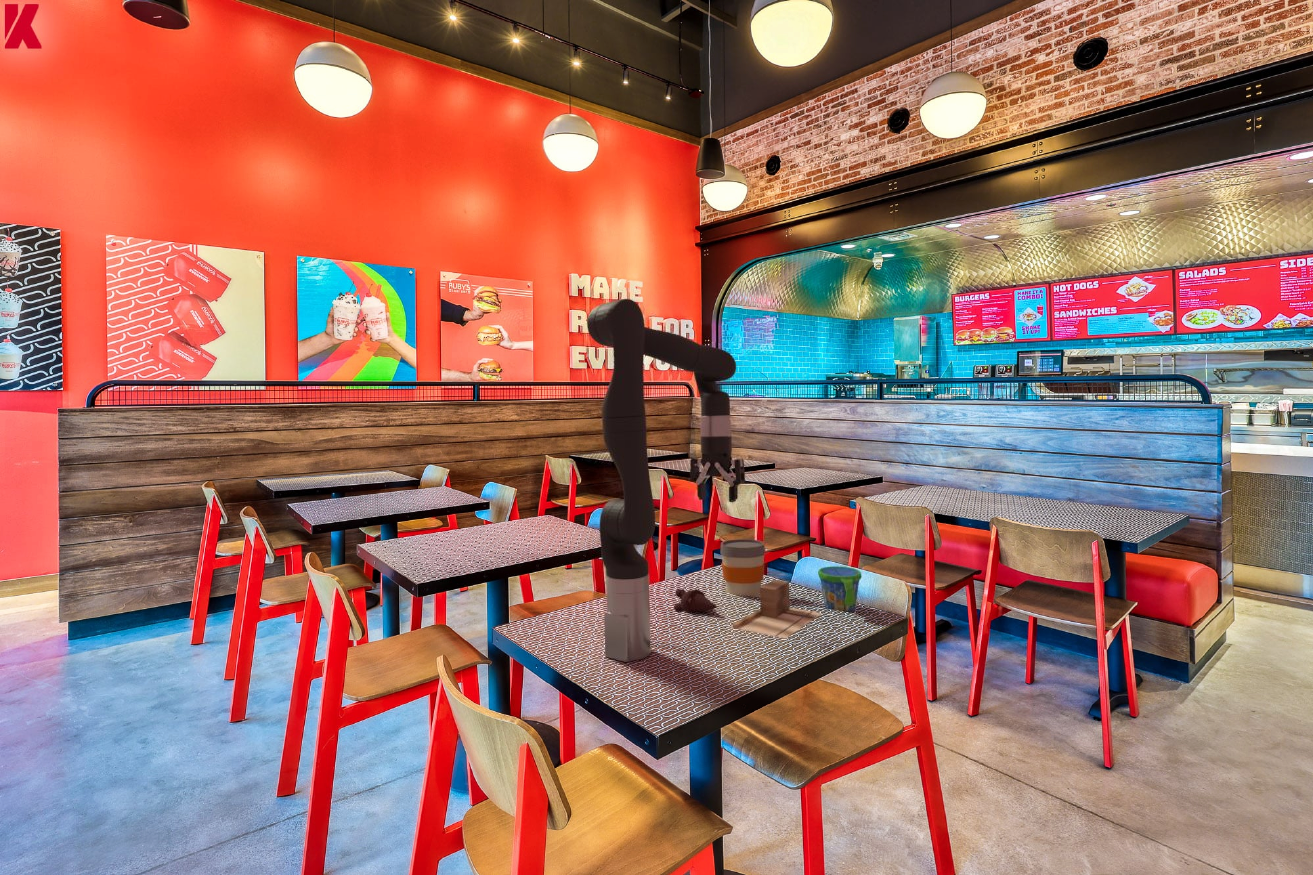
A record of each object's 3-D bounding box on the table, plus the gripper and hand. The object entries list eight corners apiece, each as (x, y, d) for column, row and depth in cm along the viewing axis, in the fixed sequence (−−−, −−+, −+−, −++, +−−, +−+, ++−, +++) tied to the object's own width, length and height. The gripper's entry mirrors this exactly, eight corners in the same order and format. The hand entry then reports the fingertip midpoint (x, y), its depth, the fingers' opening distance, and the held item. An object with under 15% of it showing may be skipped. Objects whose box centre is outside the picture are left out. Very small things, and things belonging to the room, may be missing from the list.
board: (785, 645, 139) (785, 634, 139) (730, 633, 147) (729, 623, 147) (822, 619, 156) (822, 610, 156) (770, 610, 164) (770, 601, 164)
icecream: (727, 593, 158) (687, 587, 170) (707, 591, 154) (666, 585, 165) (725, 621, 157) (684, 613, 169) (704, 620, 153) (663, 612, 164)
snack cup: (869, 619, 155) (868, 578, 155) (825, 619, 156) (825, 578, 155) (853, 601, 170) (852, 563, 170) (813, 601, 171) (813, 564, 171)
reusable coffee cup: (722, 603, 171) (721, 548, 171) (719, 590, 184) (718, 539, 183) (769, 602, 171) (768, 547, 170) (763, 589, 184) (762, 538, 183)
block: (775, 618, 153) (774, 589, 153) (760, 615, 155) (759, 587, 155) (791, 607, 160) (790, 580, 160) (777, 605, 163) (776, 578, 162)
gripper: (683, 435, 155) (684, 500, 156) (734, 435, 147) (735, 504, 147) (699, 434, 161) (701, 497, 162) (749, 433, 153) (750, 500, 153)
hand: (717, 500), depth 154 cm, fingers open, 8 cm apart
